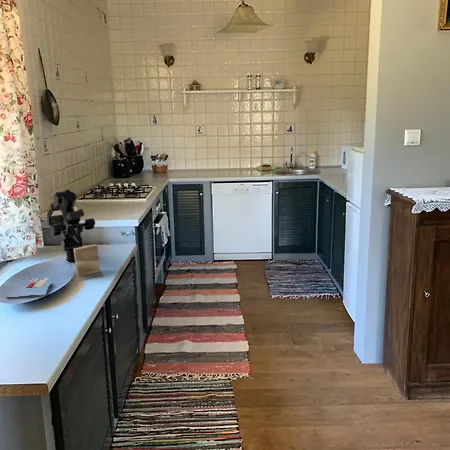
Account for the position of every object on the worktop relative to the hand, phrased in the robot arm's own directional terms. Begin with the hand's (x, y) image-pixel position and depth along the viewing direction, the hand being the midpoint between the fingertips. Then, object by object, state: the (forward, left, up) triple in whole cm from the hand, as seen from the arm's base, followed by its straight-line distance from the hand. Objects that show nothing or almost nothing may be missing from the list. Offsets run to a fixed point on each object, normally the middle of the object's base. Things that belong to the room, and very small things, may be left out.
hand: (79, 242), depth 211 cm
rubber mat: (+8, +1, -13) cm, 15 cm away
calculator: (+16, -23, -13) cm, 31 cm away
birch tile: (+8, +1, -12) cm, 15 cm away
